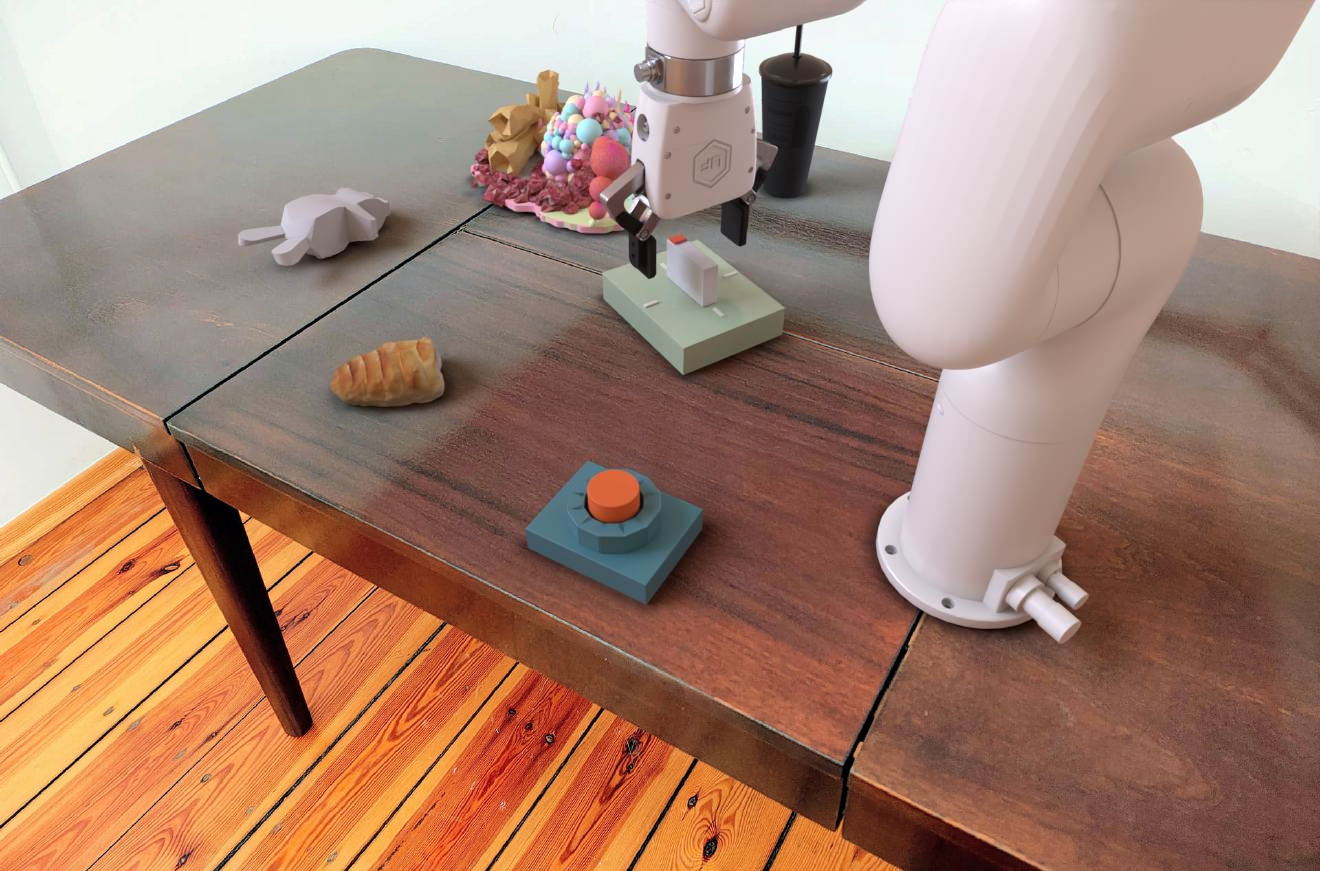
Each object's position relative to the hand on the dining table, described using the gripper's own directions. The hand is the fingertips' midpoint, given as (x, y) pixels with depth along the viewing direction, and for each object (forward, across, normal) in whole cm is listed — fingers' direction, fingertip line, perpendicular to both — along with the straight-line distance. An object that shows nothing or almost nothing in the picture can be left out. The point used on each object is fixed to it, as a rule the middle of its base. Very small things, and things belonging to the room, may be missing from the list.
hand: (689, 254), depth 84 cm
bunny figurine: (+7, -25, +30) cm, 40 cm away
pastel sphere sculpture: (+7, +5, +30) cm, 31 cm away
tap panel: (+6, 0, 0) cm, 7 cm away
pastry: (+7, -27, +4) cm, 28 cm away
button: (+2, -20, -20) cm, 29 cm away
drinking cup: (+7, +23, +14) cm, 28 cm away
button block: (+6, -20, -20) cm, 29 cm away
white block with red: (+3, 0, 0) cm, 3 cm away
